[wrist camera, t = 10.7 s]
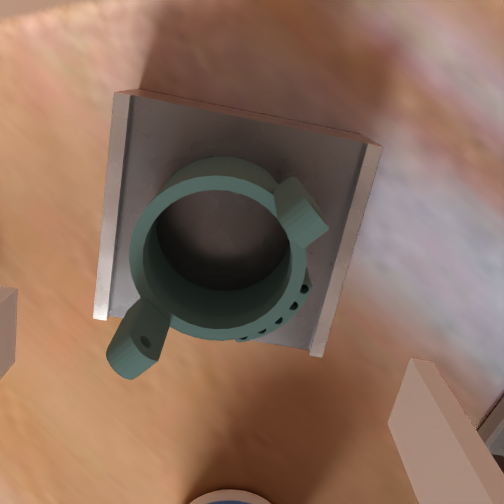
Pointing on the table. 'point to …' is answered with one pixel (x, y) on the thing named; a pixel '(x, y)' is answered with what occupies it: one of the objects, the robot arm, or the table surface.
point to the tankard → (494, 430)
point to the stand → (230, 203)
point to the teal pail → (206, 300)
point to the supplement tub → (230, 498)
